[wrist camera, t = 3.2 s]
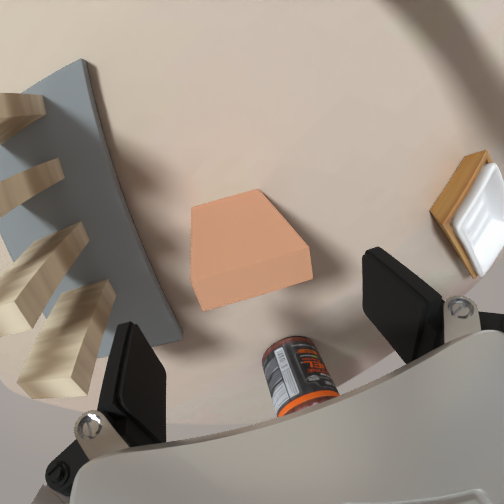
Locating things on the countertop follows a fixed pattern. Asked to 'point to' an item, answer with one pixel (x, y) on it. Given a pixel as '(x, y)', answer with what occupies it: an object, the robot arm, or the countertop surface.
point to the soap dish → (473, 212)
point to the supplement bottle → (296, 375)
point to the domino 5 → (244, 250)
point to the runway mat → (84, 207)
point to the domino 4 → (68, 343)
